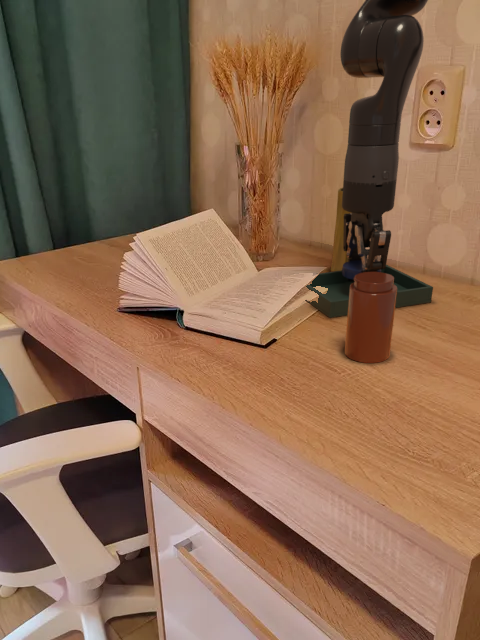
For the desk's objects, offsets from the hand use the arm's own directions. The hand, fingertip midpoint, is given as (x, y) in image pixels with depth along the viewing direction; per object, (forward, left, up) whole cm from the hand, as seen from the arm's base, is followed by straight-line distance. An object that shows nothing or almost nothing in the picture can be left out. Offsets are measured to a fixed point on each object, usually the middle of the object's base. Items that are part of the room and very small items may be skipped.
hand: (360, 286), depth 95 cm
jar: (+10, +19, -2) cm, 22 cm away
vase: (-5, -13, -2) cm, 14 cm away
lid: (0, 0, +3) cm, 3 cm away
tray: (0, 0, -2) cm, 2 cm away
